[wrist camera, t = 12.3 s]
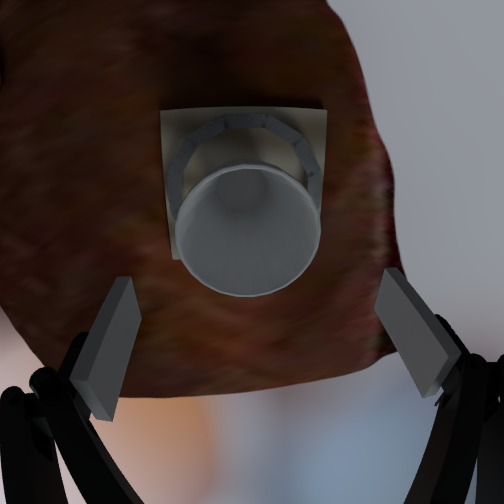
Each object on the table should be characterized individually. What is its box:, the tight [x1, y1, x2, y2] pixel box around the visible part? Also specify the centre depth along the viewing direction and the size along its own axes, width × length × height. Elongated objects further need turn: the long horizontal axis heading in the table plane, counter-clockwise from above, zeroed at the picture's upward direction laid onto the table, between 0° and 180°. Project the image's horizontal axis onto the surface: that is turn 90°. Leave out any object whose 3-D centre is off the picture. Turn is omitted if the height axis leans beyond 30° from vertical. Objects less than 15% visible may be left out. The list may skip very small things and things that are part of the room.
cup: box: [175, 159, 321, 297], centre depth 27 cm, size 10×10×14 cm
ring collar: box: [167, 113, 322, 220], centre depth 32 cm, size 16×16×2 cm
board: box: [160, 106, 327, 259], centre depth 34 cm, size 18×18×1 cm
